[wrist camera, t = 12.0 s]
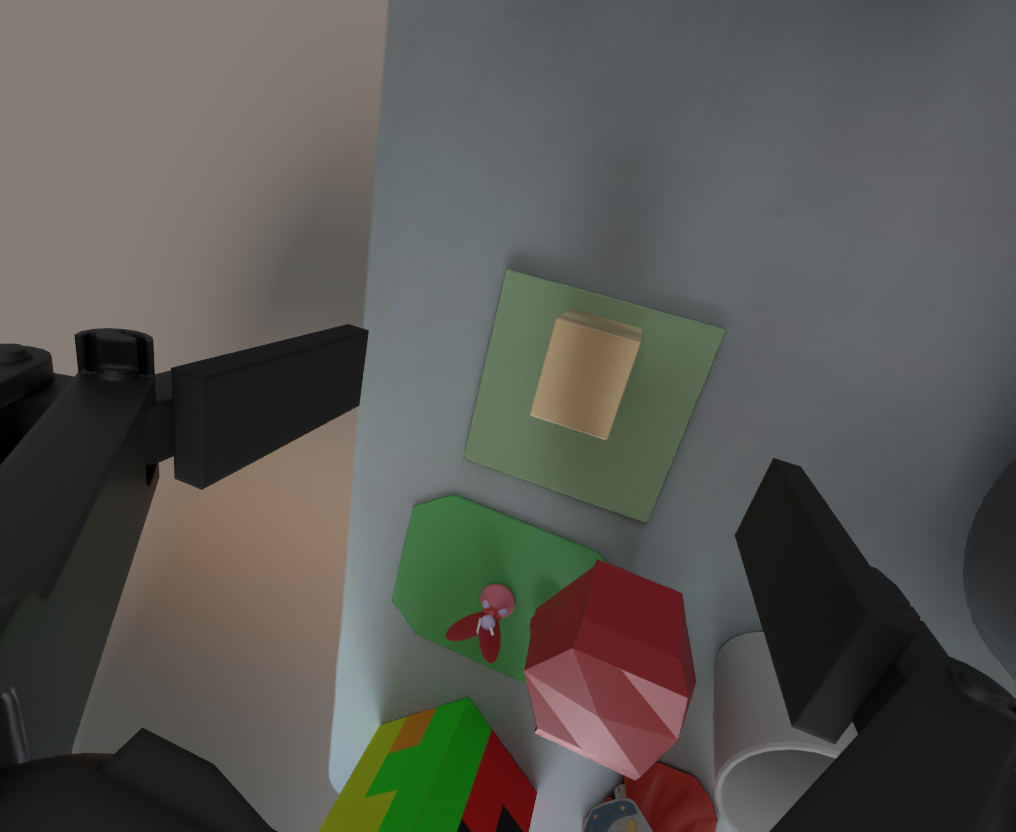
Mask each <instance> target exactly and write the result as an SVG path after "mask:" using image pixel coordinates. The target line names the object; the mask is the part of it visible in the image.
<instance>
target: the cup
mask: <svg viewBox="0 0 1016 832" xmlns="http://www.w3.org/2000/svg"><path fill="white" fill-rule="evenodd" d="M857 735H858V733H857V731H856V729H855V726H854V724H853V722H852V723H851V724H850V725H849V727H848V728H847V729H846V731H845V732H844V734H843V735H842V736H841V738H840V739H839V740H838V742H837V743H836V744H832V743H830V742H827V741H825V740H822V739H820V738H817V737H815V736H813V735H810V734H808V733H805V732H803V731H800V730H798V729H795V728H793V727H792V726H791V723H790V719H789V716H788V713H787V709H786V706H785V703H784V699H783V696H782V693H781V689H780V686H779V682H778V679H777V676H776V672H775V669H774V666H773V662H772V659H771V655H770V652H769V649H768V645H767V642H766V639H765V635H764V632H753V633H746V634H742V635H740V636H737V637H735V638H733V639H731V640H730V641H728V642H727V643H726V644H724V646H723V647H722V648H721V650H720V651H719V652H718V655H717V658H716V662H715V689H714V788H715V800H716V802H717V805H718V807H719V809H720V812H721V814H722V816H723V818H724V819H725V820H726V821H727V823H728V824H729V825H730V826H731V828H732V829H733V830H734V831H735V832H769V831H770V830H771V829H772V828H773V827H774V826H775V825H776V824H777V822H778V821H779V820H780V819H781V818H782V817H783V816H784V815H785V814H786V813H787V812H788V810H789V809H790V808H791V807H792V806H793V805H794V804H795V803H796V802H797V801H798V799H799V798H800V797H801V796H802V795H803V794H804V793H805V792H806V791H807V790H808V789H809V787H810V786H811V785H812V784H813V783H814V782H815V781H816V780H817V779H818V778H819V777H820V775H821V774H822V773H823V772H824V771H825V770H826V769H827V768H828V767H829V766H830V764H831V763H832V762H833V761H834V760H835V759H836V758H837V757H838V756H839V755H840V754H841V752H842V751H843V750H844V749H845V748H846V747H847V746H848V745H849V744H850V743H851V741H852V740H853V739H854V738H855V737H856V736H857Z"/></svg>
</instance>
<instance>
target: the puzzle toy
mask: <svg viewBox="0 0 1016 832" xmlns="http://www.w3.org/2000/svg"><path fill="white" fill-rule="evenodd" d="M536 795H537V791H536V790H535V789H534V787H533V786H532V784H531V783H530V782H529V780H528V779H527V778H526V776H525V775H524V773H523V772H522V771H521V769H520V768H519V766H518V765H517V764H516V762H515V761H514V760H513V758H512V757H511V755H510V754H509V753H508V751H507V750H506V748H505V747H504V746H503V744H502V743H501V741H500V740H499V739H498V737H497V736H496V735H495V733H494V732H493V730H492V729H491V728H490V726H489V725H488V723H487V722H486V721H485V719H484V718H483V716H482V715H481V714H480V712H479V711H478V710H477V708H476V707H475V705H474V704H473V703H472V701H471V700H470V698H469V697H467V698H464V699H461V700H458V701H455V702H451V703H448V704H445V705H442V706H439V707H436V708H432V709H429V710H426V711H423V712H420V713H417V714H414V715H410V716H407V717H404V718H401V719H398V720H395V721H391V722H388V723H385V724H382V725H380V726H379V728H378V730H377V731H376V733H375V735H374V736H373V738H372V740H371V742H370V743H369V745H368V747H367V748H366V750H365V752H364V754H363V755H362V757H361V759H360V761H359V762H358V764H357V766H356V767H355V769H354V771H353V773H352V774H351V776H350V778H349V780H348V781H347V783H346V785H345V786H344V788H343V790H342V792H341V793H340V795H339V797H338V798H337V800H336V802H335V804H334V806H333V807H332V809H331V811H330V812H329V814H328V816H327V818H326V819H325V821H324V823H323V824H322V826H321V828H320V830H319V831H318V832H529V828H530V823H531V818H532V814H533V809H534V804H535V800H536Z"/></svg>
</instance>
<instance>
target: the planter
mask: <svg viewBox="0 0 1016 832" xmlns="http://www.w3.org/2000/svg"><path fill="white" fill-rule="evenodd" d="M963 578H964V590H965V595H966V600H967V605H968V608H969V611H970V614H971V617H972V620H973V622H974V624H975V626H976V628H977V630H978V632H979V634H980V636H981V638H982V640H983V641H984V643H985V644H986V646H987V647H988V649H989V650H990V652H991V653H992V654H993V655H994V657H995V658H996V659H997V660H998V661H999V662H1000V664H1001V665H1002V666H1003V667H1004V668H1005V669H1006V671H1007V672H1008V673H1009V674H1010V675H1011V677H1012V678H1013V679H1014V680H1015V681H1016V457H1015V458H1014V459H1013V460H1012V462H1011V463H1010V464H1009V465H1008V466H1007V468H1006V469H1005V470H1004V471H1003V473H1002V474H1001V475H1000V476H999V477H998V479H997V480H996V482H995V483H994V485H993V486H992V488H991V489H990V491H989V492H988V494H987V495H986V497H985V498H984V500H983V502H982V504H981V506H980V508H979V510H978V512H977V514H976V516H975V519H974V521H973V524H972V527H971V530H970V532H969V535H968V540H967V544H966V549H965V554H964V565H963Z"/></svg>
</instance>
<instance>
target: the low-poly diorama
mask: <svg viewBox="0 0 1016 832" xmlns="http://www.w3.org/2000/svg"><path fill="white" fill-rule="evenodd" d="M392 601H393V603H394V604H395V605H396V607H397V608H398V610H399V611H400V612H401V614H402V615H403V616H404V618H405V619H406V621H407V622H408V623H409V625H410V626H411V627H412V629H413V630H414V632H415V633H416V634H417V635H420V636H422V637H424V638H426V639H428V640H431V641H433V642H435V643H437V644H439V645H442V646H444V647H446V648H448V649H450V650H453V651H455V652H457V653H459V654H461V655H464V656H466V657H468V658H470V659H472V660H475V661H477V662H479V663H481V664H483V665H485V666H488V667H490V668H492V669H494V670H496V671H499V672H501V673H503V674H505V675H507V676H510V677H512V678H514V679H516V680H518V681H521V682H523V683H525V684H527V686H528V690H529V695H530V699H531V703H532V707H533V711H534V715H535V720H536V728H535V733H536V734H538V735H540V736H542V737H544V738H546V739H548V740H550V741H553V742H555V743H557V744H559V745H561V746H563V747H565V748H567V749H569V750H572V751H574V752H576V753H578V754H580V755H582V756H584V757H586V758H589V759H591V760H593V761H595V762H597V763H599V764H601V765H603V766H606V767H608V768H610V769H612V770H614V771H616V772H618V773H620V774H623V775H625V776H627V777H629V778H631V779H633V780H636V779H638V778H639V777H641V776H642V775H643V774H644V773H645V772H646V771H647V770H648V769H649V768H650V767H651V766H652V765H653V764H654V763H655V762H656V761H657V760H658V759H659V758H660V757H661V756H662V755H663V754H664V753H665V752H666V751H667V750H668V749H669V748H671V747H672V746H673V745H674V744H675V743H676V742H677V741H678V739H679V736H680V733H681V729H682V726H683V723H684V720H685V716H686V713H687V710H688V707H689V704H690V700H691V697H692V694H693V691H694V687H695V684H696V677H695V671H694V665H693V660H692V654H691V648H690V642H689V636H688V630H687V625H686V618H685V610H684V602H683V594H682V593H680V592H678V591H675V590H673V589H670V588H668V587H665V586H663V585H660V584H658V583H655V582H653V581H650V580H648V579H645V578H643V577H640V576H638V575H635V574H633V573H630V572H628V571H625V570H623V569H620V568H618V567H615V566H613V565H610V564H608V563H606V562H605V560H604V559H603V557H602V556H601V554H600V553H599V552H597V551H595V550H592V549H590V548H587V547H585V546H582V545H580V544H577V543H575V542H572V541H570V540H567V539H565V538H562V537H560V536H557V535H555V534H552V533H550V532H547V531H545V530H542V529H540V528H537V527H535V526H532V525H530V524H527V523H524V522H522V521H519V520H517V519H514V518H512V517H509V516H507V515H504V514H502V513H499V512H497V511H494V510H492V509H489V508H487V507H484V506H482V505H479V504H477V503H474V502H472V501H469V500H467V499H464V498H462V497H459V496H457V495H454V494H452V495H449V496H445V497H442V498H439V499H436V500H432V501H429V502H426V503H423V504H419V505H416V506H414V507H413V509H412V513H411V517H410V522H409V526H408V531H407V535H406V540H405V544H404V549H403V553H402V558H401V562H400V566H399V571H398V575H397V580H396V584H395V589H394V593H393V598H392Z"/></svg>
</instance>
